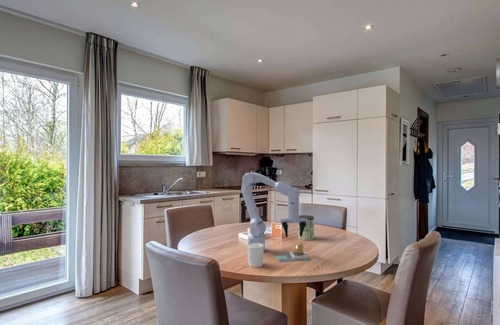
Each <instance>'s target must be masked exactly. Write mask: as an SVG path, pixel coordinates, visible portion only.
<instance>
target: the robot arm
mask: <svg viewBox="0 0 500 325" xmlns="http://www.w3.org/2000/svg"><path fill="white" fill-rule="evenodd" d="M241 181H242V182H241V188H240V191H241V194H242V197H243V201H244V203H245V206H246V210H247V213H248V216H249V219H250V221H249V227H250V229H249V233H250V234H251V235H248V236H247V245H248V244H251V243H260V244H263V245H264V251H263V253H264V252H265V251H266V236H265V235H266V234H265V232H266V230H267V225H266V224H265V223H264V221H263V219H262V218H261V216H260V214H259V211H258V208H257V205H256V200H255V198H254V194H253V191H252V189H253V188H254V186H255V185H256V184H257V183H263V184H265V185H267V186H269V187H271V188H274V190H275V192H277V193H279V194H281V195H283V196H286V197H287V199H288V202H287V207H288V208H287V209H288V210H287V212H288V213H287V214H288V215H287V216H288V218H280V219H279V224H281V225H282V229H283V231H284V235H285V238H288V237H289V233H288V232H289V231H288V230H289V224H292V223H293V224H298V223H299V227H300V233H299V234H300V237H302V234H303V230H304V228H305V226H306V223H308V219H307V218H299V216H300V196H301V191H300V189H299V188H297V187H293V185H289V184H287V183H285V181H283V180H282V181H275V180H273V179H271V178H269V177H268V176H265V175H264V174H261V173H258V172H255V171H253V172H246V173H244V175H243V177H242V178H241Z"/></svg>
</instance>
